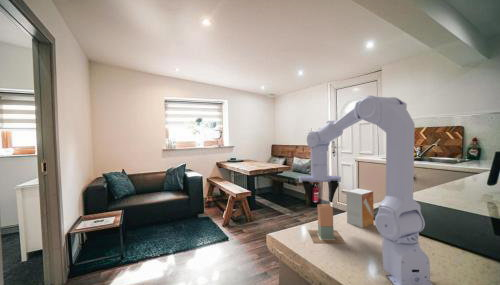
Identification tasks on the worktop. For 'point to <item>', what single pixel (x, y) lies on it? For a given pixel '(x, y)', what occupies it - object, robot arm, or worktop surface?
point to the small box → (360, 207)
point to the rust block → (325, 215)
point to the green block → (325, 232)
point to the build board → (318, 240)
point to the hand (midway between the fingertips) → (319, 201)
